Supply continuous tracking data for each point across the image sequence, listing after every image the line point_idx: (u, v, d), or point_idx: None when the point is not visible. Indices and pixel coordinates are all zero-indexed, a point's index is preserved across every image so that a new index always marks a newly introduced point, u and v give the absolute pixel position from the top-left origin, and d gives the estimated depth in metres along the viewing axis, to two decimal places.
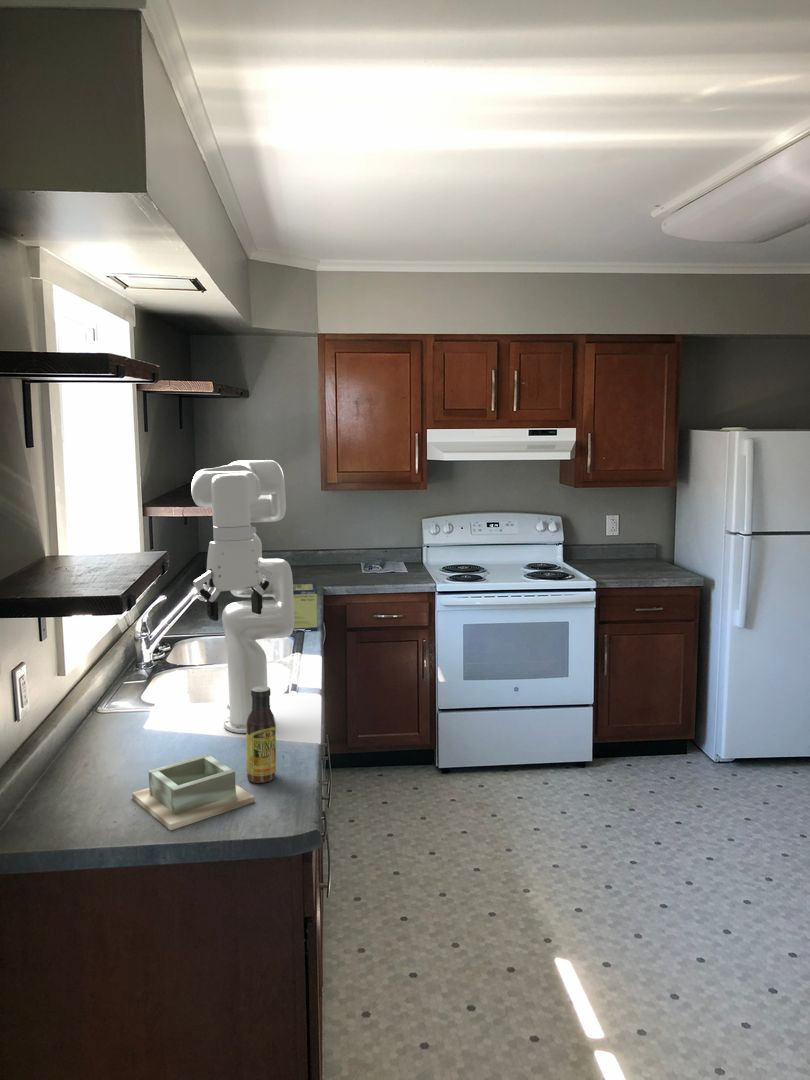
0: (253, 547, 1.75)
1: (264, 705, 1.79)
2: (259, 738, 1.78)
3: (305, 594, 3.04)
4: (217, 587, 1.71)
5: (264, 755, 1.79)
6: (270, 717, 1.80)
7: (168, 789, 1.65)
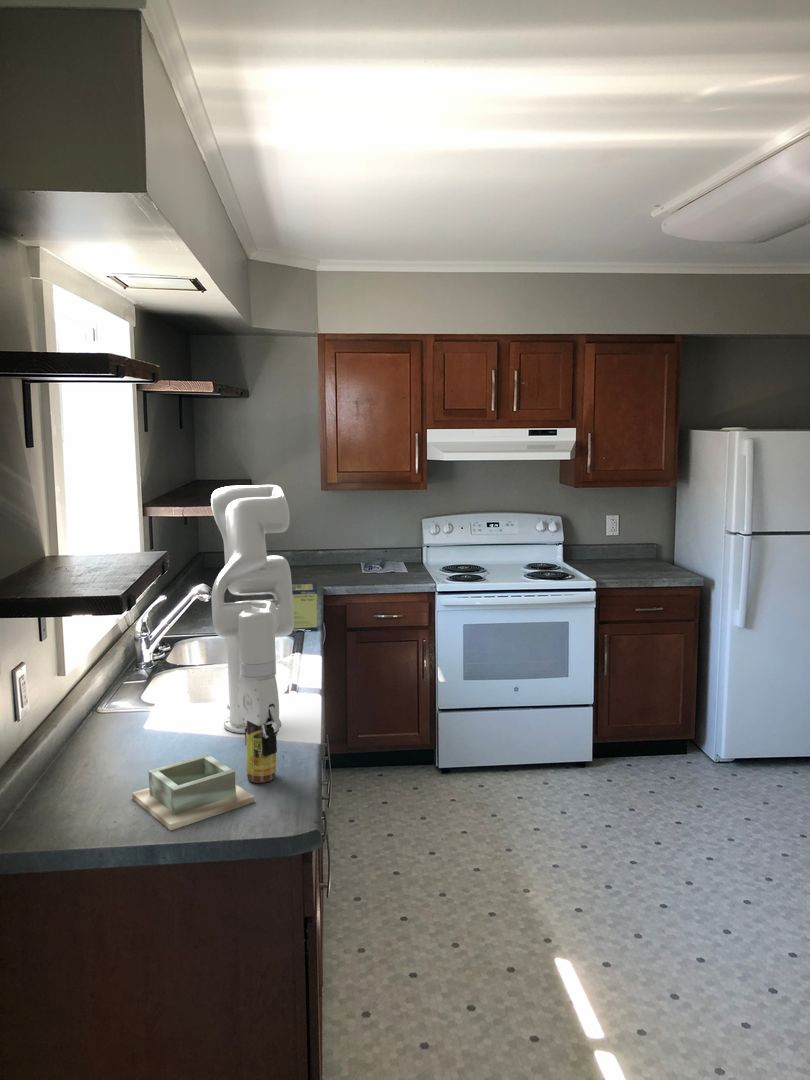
0: None
1: None
2: (259, 738, 1.78)
3: (305, 594, 3.04)
4: None
5: None
6: None
7: (168, 789, 1.65)
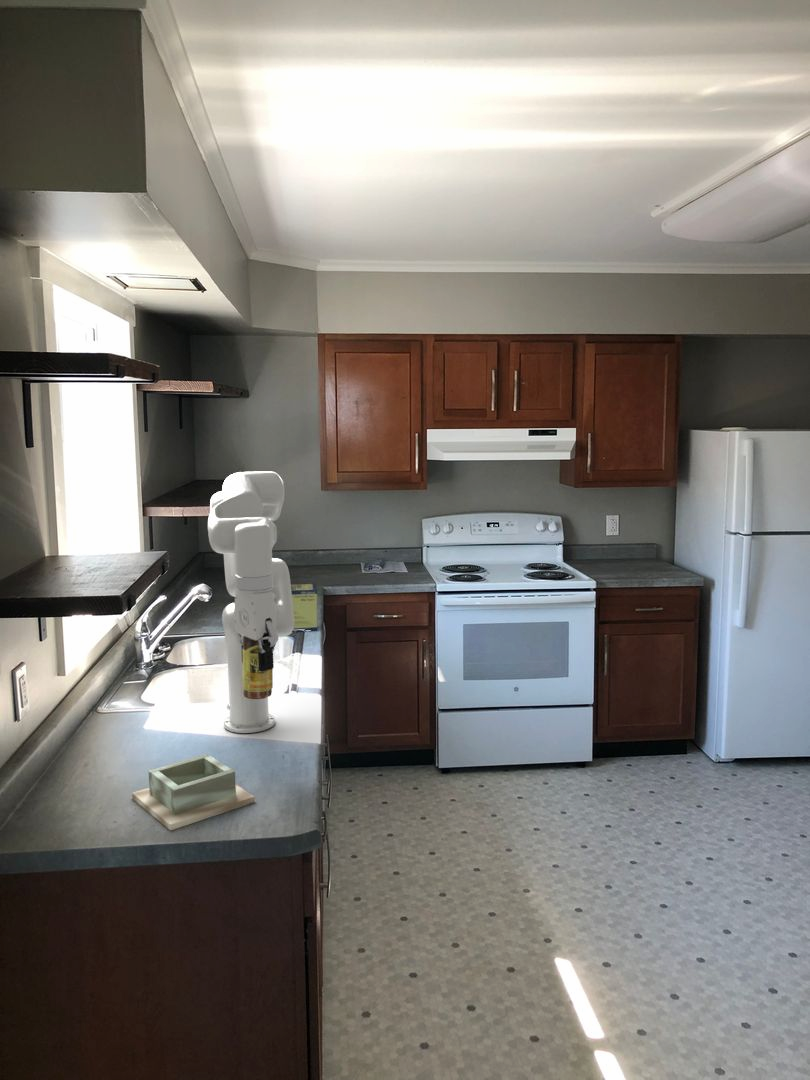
0: None
1: None
2: (255, 653, 1.76)
3: (305, 594, 3.04)
4: None
5: None
6: None
7: (168, 789, 1.65)
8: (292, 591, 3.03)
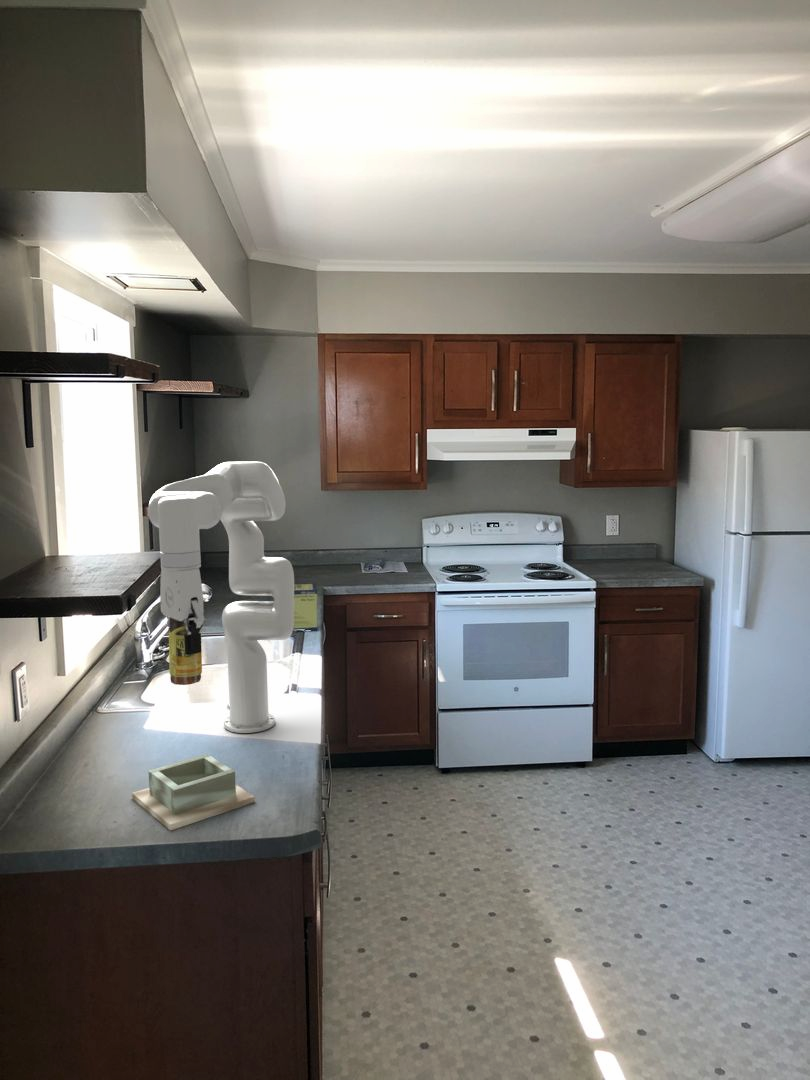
0: None
1: None
2: (181, 635, 1.64)
3: (305, 594, 3.04)
4: (202, 613, 1.64)
5: None
6: None
7: (168, 789, 1.65)
8: None
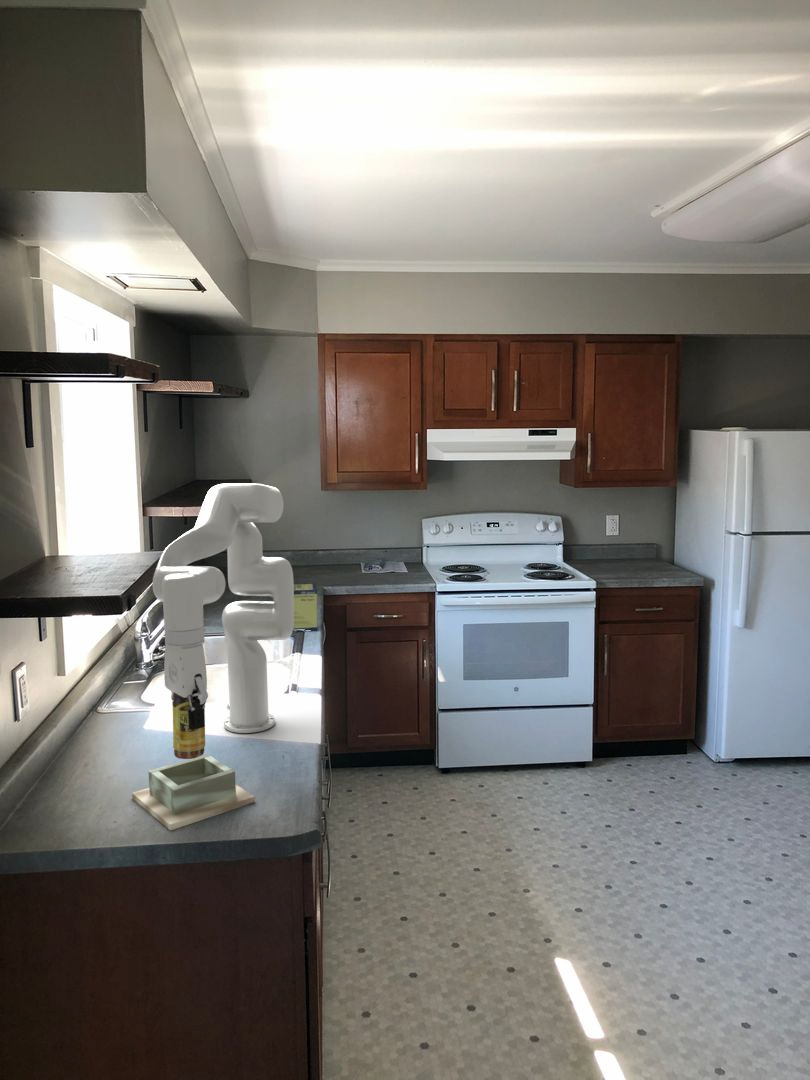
0: None
1: None
2: (185, 710, 1.66)
3: (305, 594, 3.04)
4: (206, 689, 1.66)
5: None
6: None
7: (168, 789, 1.65)
8: None
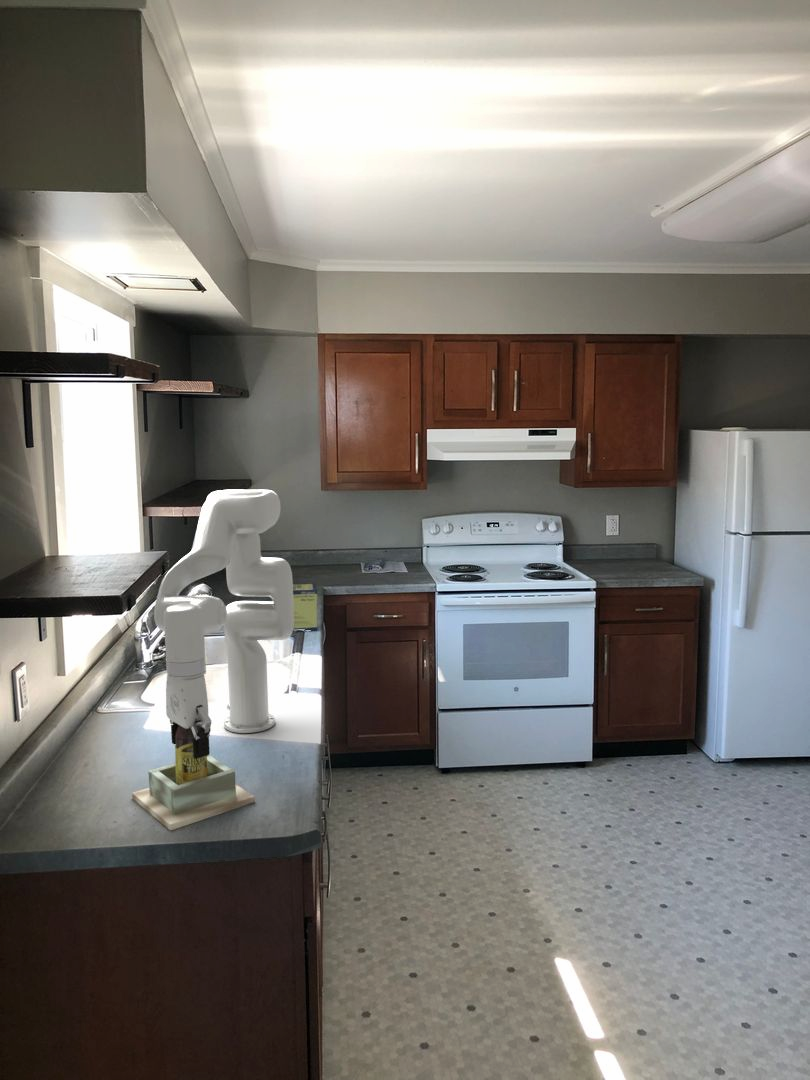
0: None
1: None
2: (188, 752, 1.68)
3: (305, 594, 3.04)
4: None
5: (194, 770, 1.68)
6: None
7: (168, 789, 1.65)
8: None
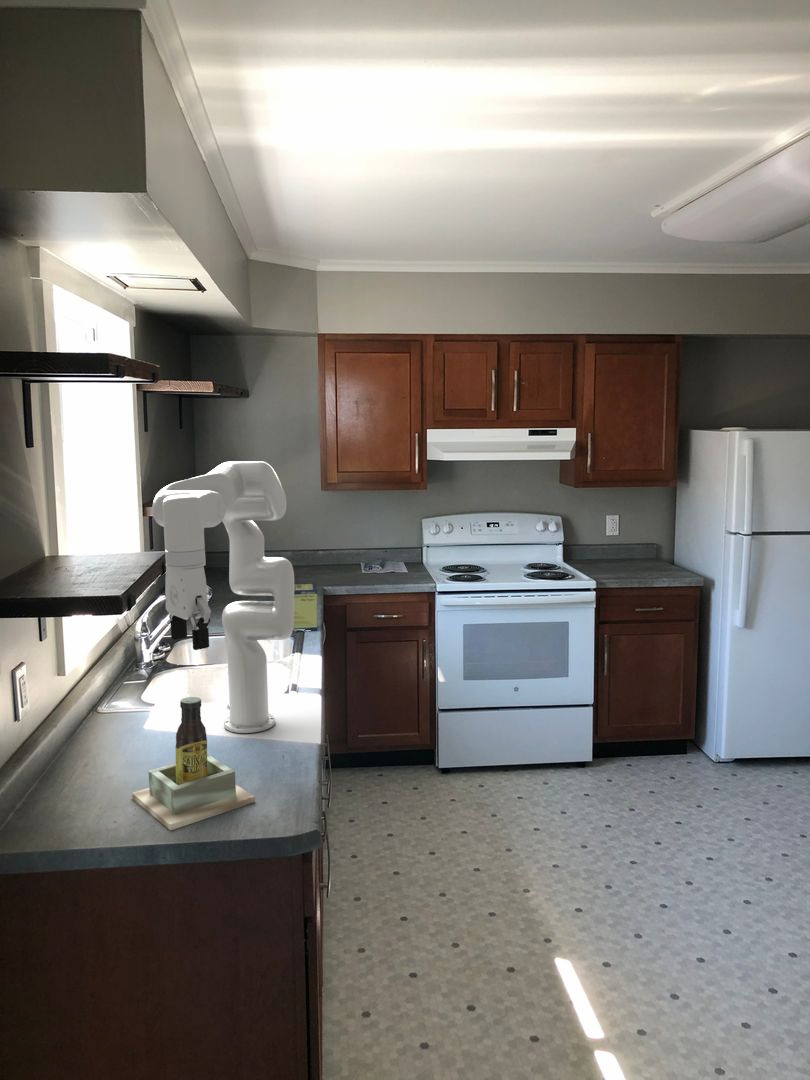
0: None
1: (194, 717, 1.68)
2: (188, 752, 1.68)
3: (305, 594, 3.04)
4: None
5: (194, 770, 1.68)
6: (200, 730, 1.69)
7: (168, 789, 1.65)
8: None
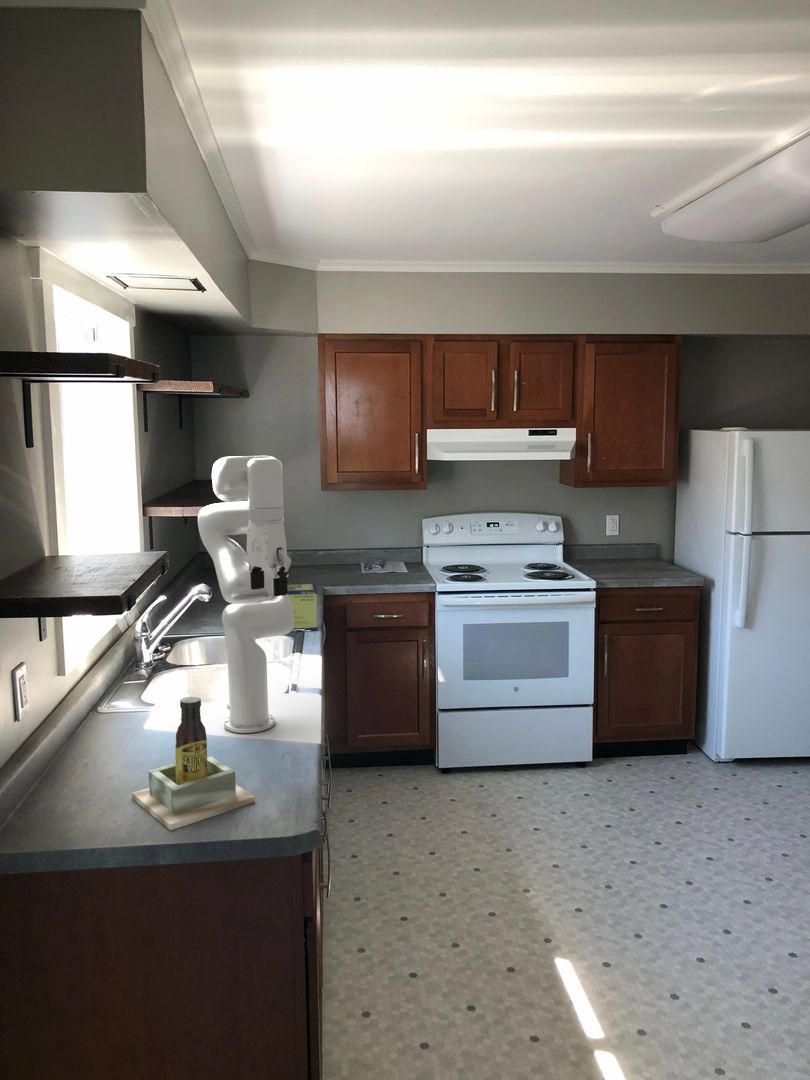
0: None
1: (194, 717, 1.69)
2: (188, 751, 1.68)
3: (305, 594, 3.04)
4: None
5: (194, 770, 1.69)
6: (200, 729, 1.69)
7: (168, 789, 1.65)
8: (292, 591, 3.03)
